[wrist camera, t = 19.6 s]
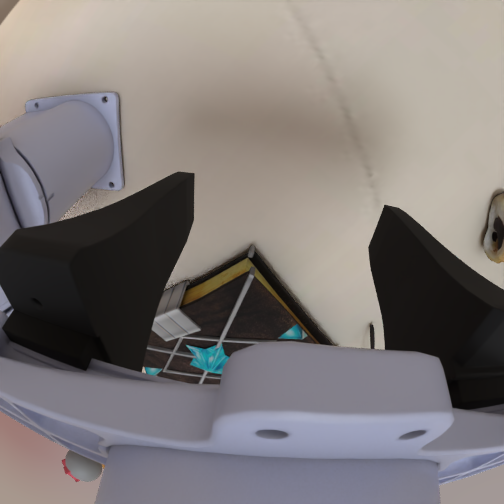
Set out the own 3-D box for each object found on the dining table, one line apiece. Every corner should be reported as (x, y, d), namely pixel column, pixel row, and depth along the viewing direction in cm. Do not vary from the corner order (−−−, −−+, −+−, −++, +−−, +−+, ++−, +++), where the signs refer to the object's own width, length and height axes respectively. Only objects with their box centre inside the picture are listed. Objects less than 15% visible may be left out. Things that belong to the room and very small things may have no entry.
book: (196, 383, 42) (190, 413, 38) (106, 313, 34) (90, 346, 30) (340, 346, 33) (343, 385, 29) (258, 239, 25) (251, 283, 21)
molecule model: (93, 462, 33) (61, 476, 30) (152, 507, 42) (127, 519, 39) (65, 369, 52) (42, 381, 49) (111, 428, 61) (91, 438, 58)
